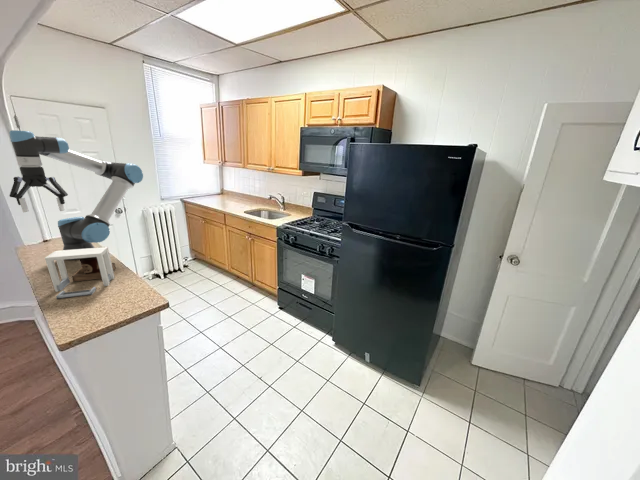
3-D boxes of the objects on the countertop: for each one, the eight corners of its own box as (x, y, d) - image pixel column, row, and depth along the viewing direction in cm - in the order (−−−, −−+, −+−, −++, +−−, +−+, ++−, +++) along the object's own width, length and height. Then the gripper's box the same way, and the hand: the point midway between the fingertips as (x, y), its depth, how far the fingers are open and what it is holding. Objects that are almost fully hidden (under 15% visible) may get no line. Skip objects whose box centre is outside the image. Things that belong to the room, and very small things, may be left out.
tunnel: (65, 282, 125) (55, 250, 120) (114, 277, 132) (107, 246, 127) (55, 291, 117) (44, 257, 112) (108, 285, 124) (100, 253, 119)
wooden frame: (90, 265, 144) (86, 248, 141) (120, 262, 149) (116, 246, 146) (73, 281, 126) (67, 262, 123) (107, 277, 131) (103, 259, 128)
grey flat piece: (62, 293, 116) (61, 290, 115) (96, 289, 120) (95, 287, 120) (56, 299, 111) (56, 296, 111) (91, 295, 116) (91, 292, 115)
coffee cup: (90, 281, 127) (83, 257, 123) (79, 278, 129) (72, 254, 125) (109, 274, 135) (103, 251, 131) (98, 271, 137) (92, 248, 133)
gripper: (-13, 166, 113) (4, 213, 120) (61, 167, 122) (73, 211, 129) (0, 165, 120) (15, 210, 126) (69, 166, 129) (79, 208, 135)
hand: (44, 211), depth 127 cm, fingers open, 13 cm apart
